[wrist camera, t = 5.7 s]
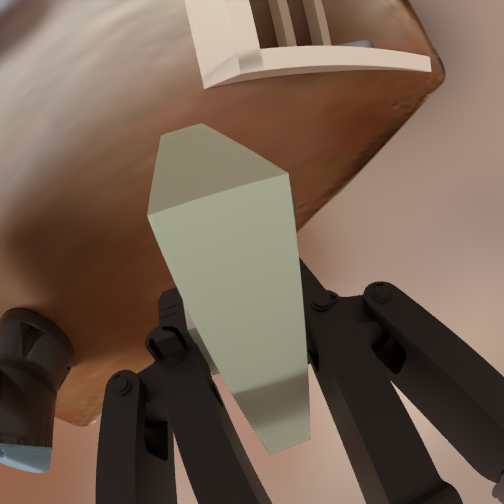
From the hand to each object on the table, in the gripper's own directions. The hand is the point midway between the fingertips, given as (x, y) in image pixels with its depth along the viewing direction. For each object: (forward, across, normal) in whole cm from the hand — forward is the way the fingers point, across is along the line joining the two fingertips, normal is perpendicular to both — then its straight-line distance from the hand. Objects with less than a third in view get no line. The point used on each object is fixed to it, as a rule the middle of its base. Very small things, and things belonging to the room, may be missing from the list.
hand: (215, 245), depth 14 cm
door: (+1, 0, 0) cm, 1 cm away
